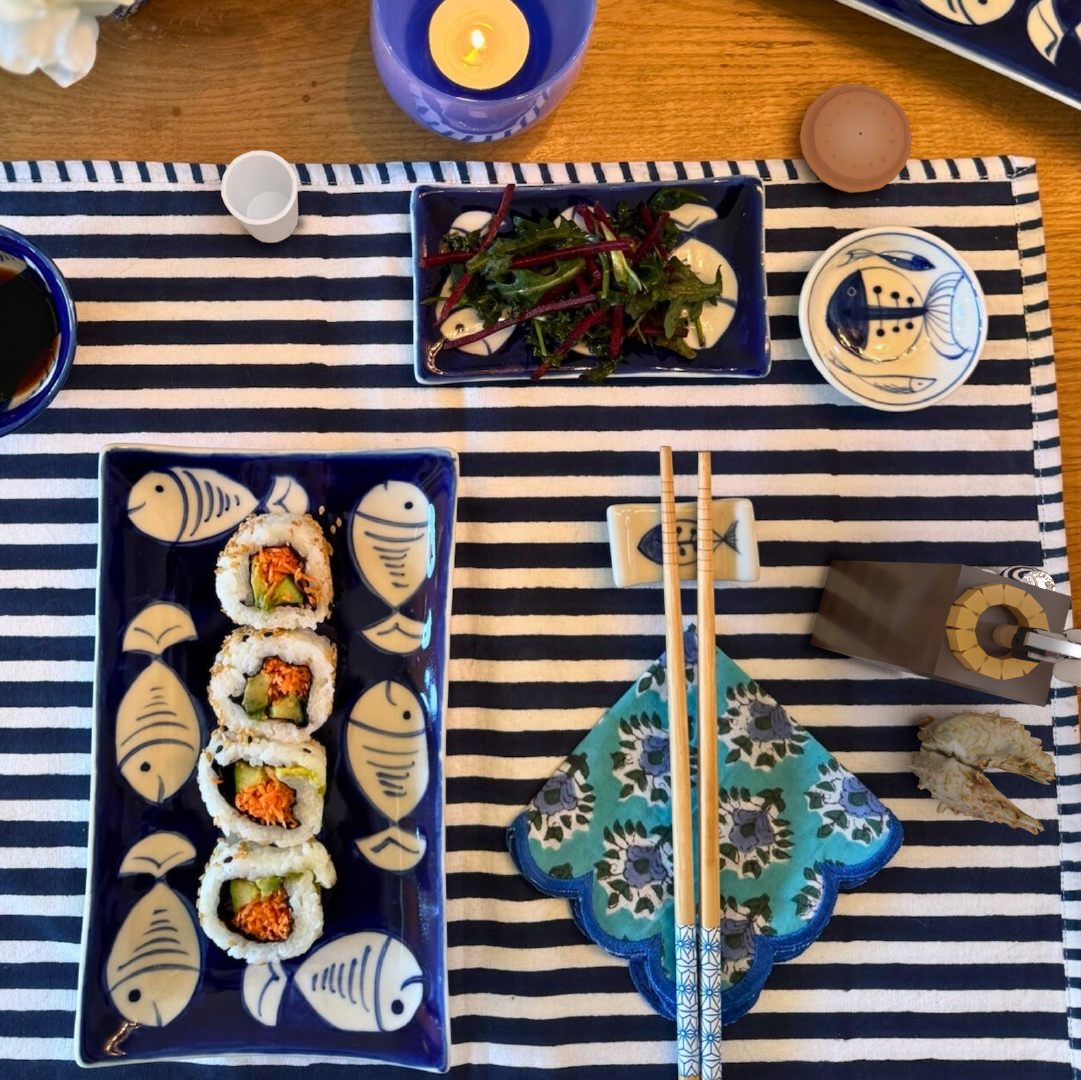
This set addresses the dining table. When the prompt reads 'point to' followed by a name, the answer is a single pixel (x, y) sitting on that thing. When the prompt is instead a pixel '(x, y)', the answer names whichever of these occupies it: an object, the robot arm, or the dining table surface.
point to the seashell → (978, 764)
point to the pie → (855, 138)
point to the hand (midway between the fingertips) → (1065, 656)
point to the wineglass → (1028, 576)
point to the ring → (966, 619)
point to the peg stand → (927, 622)
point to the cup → (262, 195)
